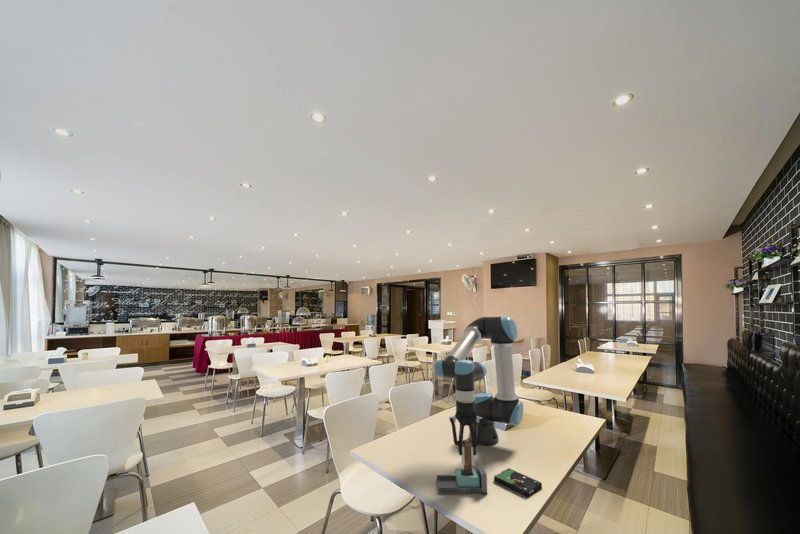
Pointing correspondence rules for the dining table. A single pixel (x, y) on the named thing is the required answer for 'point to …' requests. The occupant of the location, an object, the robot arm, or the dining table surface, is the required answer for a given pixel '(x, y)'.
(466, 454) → the dowel
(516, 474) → the disk drive
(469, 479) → the block
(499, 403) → the robot arm
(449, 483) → the rail base
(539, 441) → the dining table surface
